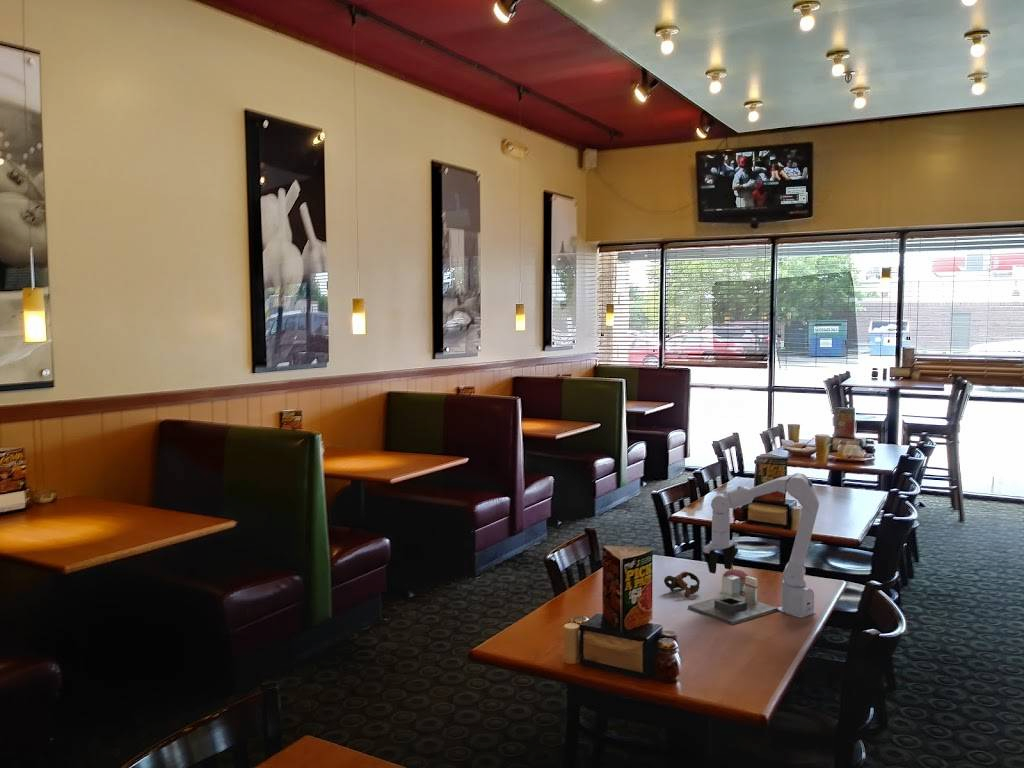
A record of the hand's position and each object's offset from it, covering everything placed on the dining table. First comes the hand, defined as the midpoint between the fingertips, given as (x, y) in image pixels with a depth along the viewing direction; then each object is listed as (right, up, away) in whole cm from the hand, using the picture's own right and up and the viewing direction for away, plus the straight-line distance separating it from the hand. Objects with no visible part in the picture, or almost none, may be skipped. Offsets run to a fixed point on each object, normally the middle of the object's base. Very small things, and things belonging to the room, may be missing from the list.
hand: (720, 570), depth 273 cm
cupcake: (+9, -10, +13) cm, 18 cm away
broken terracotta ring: (-11, -10, +10) cm, 18 cm away
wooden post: (+1, -6, -8) cm, 11 cm away
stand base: (+1, -11, -8) cm, 14 cm away
